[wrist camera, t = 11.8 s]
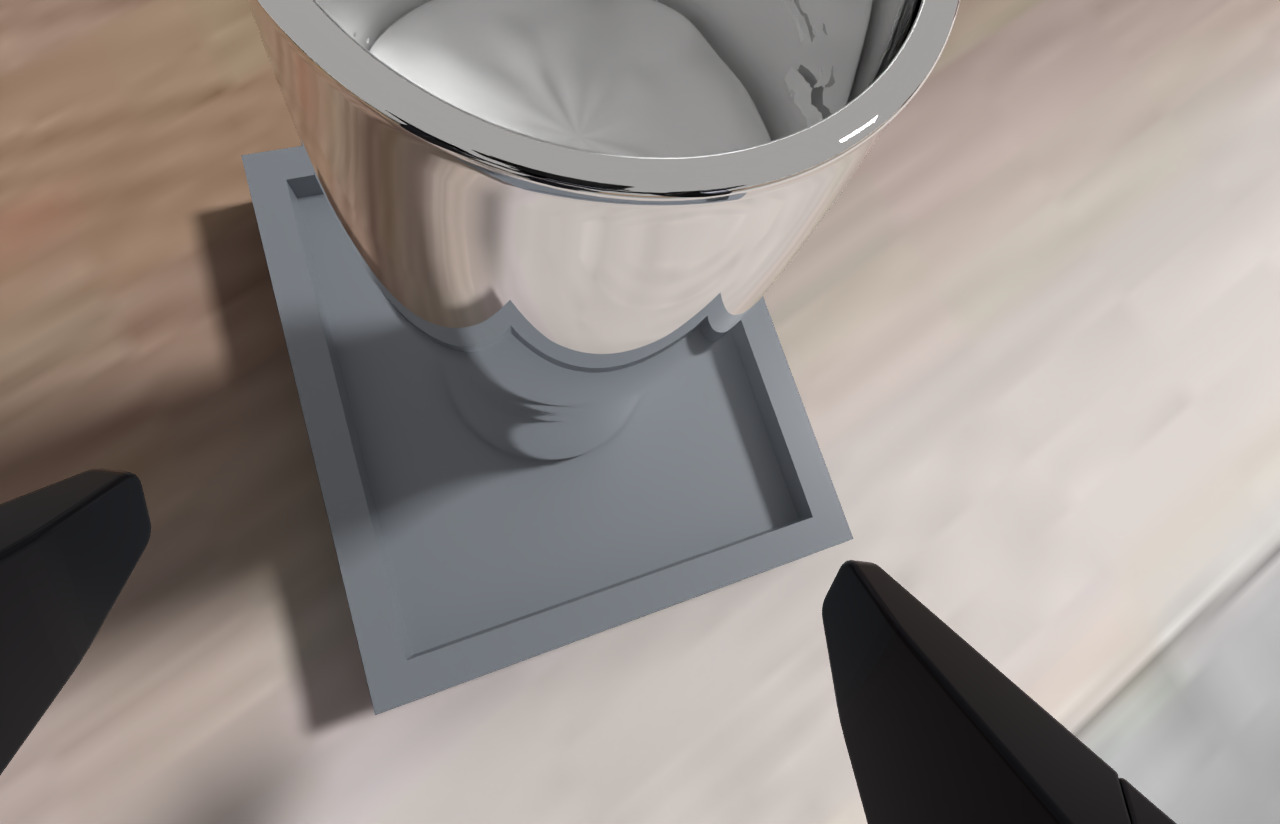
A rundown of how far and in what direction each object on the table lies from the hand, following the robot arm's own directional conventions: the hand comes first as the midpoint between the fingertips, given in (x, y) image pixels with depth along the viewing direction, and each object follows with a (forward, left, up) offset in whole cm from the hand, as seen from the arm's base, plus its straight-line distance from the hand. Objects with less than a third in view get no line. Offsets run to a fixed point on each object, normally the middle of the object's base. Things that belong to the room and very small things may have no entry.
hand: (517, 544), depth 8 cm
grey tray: (+5, -3, -12) cm, 13 cm away
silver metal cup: (+5, -2, -11) cm, 12 cm away
